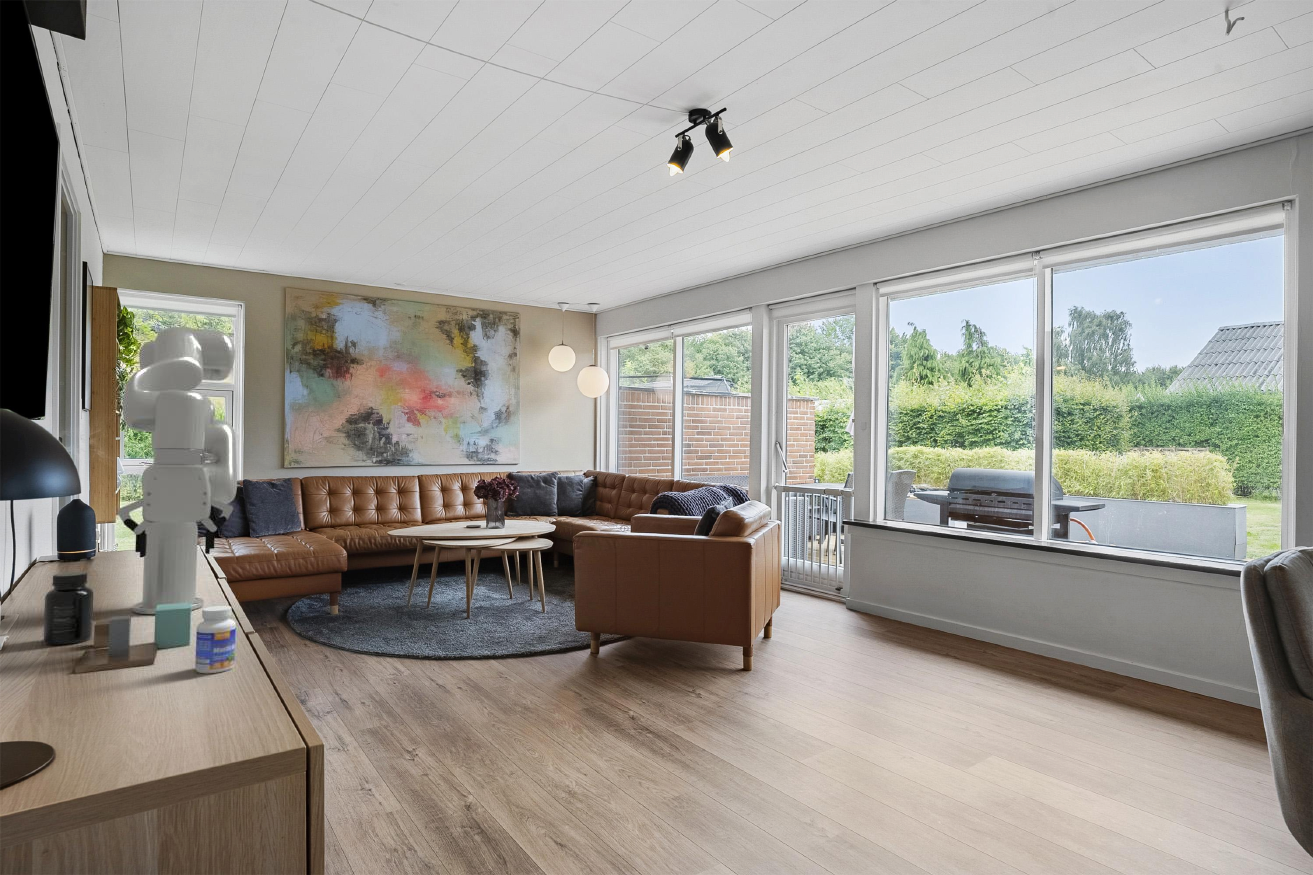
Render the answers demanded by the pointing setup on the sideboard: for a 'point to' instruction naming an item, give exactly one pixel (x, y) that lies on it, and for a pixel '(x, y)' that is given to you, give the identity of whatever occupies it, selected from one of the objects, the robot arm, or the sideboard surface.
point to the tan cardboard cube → (101, 634)
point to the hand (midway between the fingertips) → (175, 554)
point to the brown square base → (117, 650)
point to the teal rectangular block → (172, 625)
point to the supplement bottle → (68, 610)
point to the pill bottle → (215, 640)
